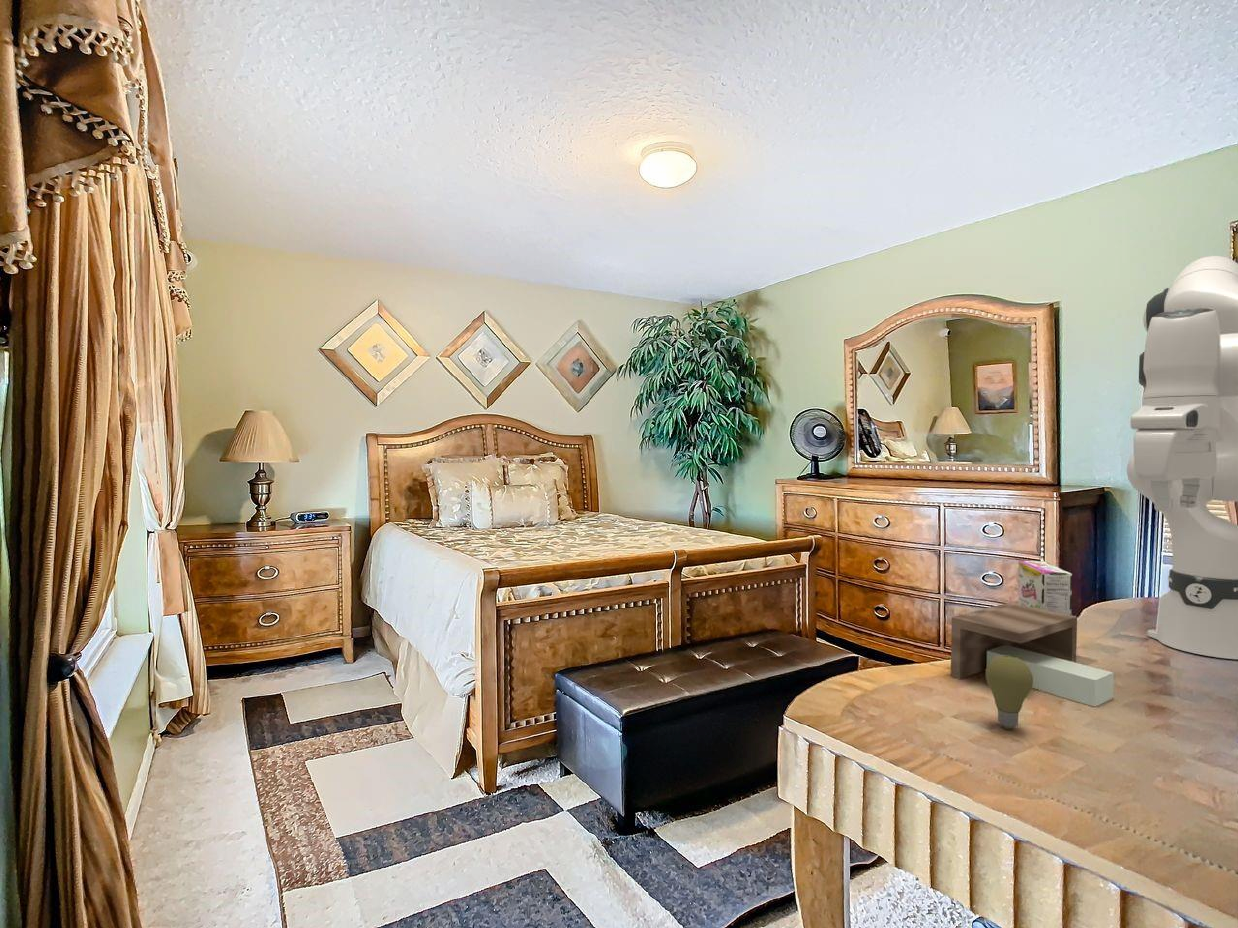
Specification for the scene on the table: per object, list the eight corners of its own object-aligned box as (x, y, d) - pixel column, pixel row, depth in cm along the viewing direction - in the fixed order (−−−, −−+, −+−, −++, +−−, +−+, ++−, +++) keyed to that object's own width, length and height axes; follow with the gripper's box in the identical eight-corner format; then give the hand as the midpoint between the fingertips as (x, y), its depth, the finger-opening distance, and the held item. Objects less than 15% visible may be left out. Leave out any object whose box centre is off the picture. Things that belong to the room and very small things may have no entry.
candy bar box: (1015, 643, 127) (1017, 559, 126) (1044, 645, 126) (1046, 560, 125) (1040, 663, 116) (1042, 571, 115) (1071, 665, 115) (1074, 572, 114)
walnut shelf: (1008, 656, 119) (1009, 602, 119) (1075, 675, 110) (1077, 616, 109) (950, 676, 110) (951, 617, 109) (1019, 698, 100) (1020, 633, 100)
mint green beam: (1005, 667, 114) (1005, 644, 114) (1112, 698, 100) (1113, 672, 100) (986, 673, 111) (986, 650, 110) (1094, 706, 97) (1095, 680, 97)
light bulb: (1010, 717, 93) (1011, 648, 93) (1041, 735, 88) (1043, 661, 87) (975, 720, 92) (976, 650, 92) (1005, 738, 87) (1006, 664, 86)
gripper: (1180, 418, 106) (1177, 503, 107) (1125, 416, 95) (1122, 511, 96) (1231, 417, 101) (1228, 507, 101) (1179, 415, 90) (1176, 515, 91)
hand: (1176, 509), depth 99 cm, fingers open, 8 cm apart
